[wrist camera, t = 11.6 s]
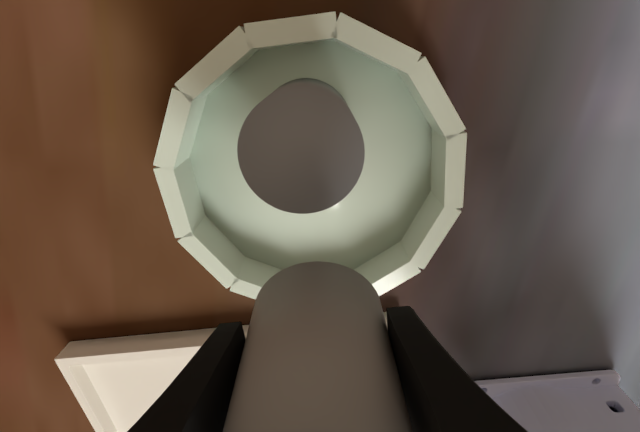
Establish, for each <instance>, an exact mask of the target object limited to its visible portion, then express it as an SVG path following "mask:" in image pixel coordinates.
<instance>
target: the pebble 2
mask: <svg viewBox="0 0 640 432" xmlns="http://www.w3.org/2000/svg"><path fill="white" fill-rule="evenodd" d="M223 432H413V430H412V426H411V422H410V418H409V414H408V410H407V406H406V402H405V398H404V394H403V390H402V386H401V382H400V378H399V374H398V370H397V366H396V362H395V358H394V354H393V350H392V346H391V342H390V338H389V334H388V329H387V325H386V321H385V317H384V313H383V309H382V305H381V302H380V298H379V296H378V294H377V291H376V290H375V288H374V287H373V285H372V284H371V283H370V282H369V281H368V280H367V279H366V278H365V277H364V276H362V275H361V274H359V273H358V272H356V271H355V270H353V269H351V268H348V267H346V266H343V265H340V264H336V263H331V262H322V261H315V262H305V263H300V264H296V265H293V266H290V267H288V268H285V269H283V270H281V271H280V272H278V273H276V274H275V275H274V276H272V277H271V278H270V279H269V280H268V281H267V282H266V283H265V284H264V285H263V287H262V288H261V290H260V291H259V293H258V295H257V298H256V300H255V304H254V308H253V312H252V316H251V320H250V324H249V328H248V332H247V336H246V340H245V344H244V348H243V352H242V356H241V360H240V364H239V368H238V372H237V376H236V380H235V384H234V388H233V392H232V396H231V400H230V404H229V408H228V412H227V416H226V420H225V424H224V428H223Z"/></svg>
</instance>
